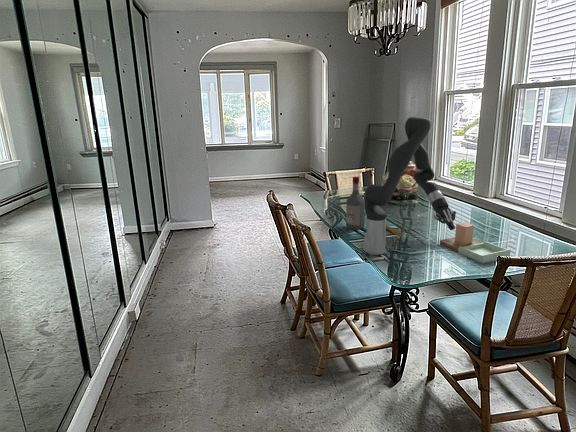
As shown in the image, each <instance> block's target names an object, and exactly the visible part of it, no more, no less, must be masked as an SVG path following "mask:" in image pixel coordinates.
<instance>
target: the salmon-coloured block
mask: <svg viewBox="0 0 576 432" xmlns="http://www.w3.org/2000/svg"><path fill="white" fill-rule="evenodd" d="M474 228H475V225H473V224H471V223H467V222H459V223H456V224H455V233H454V235H455V236H454V237H455V241H456V242H459V243H461V244H463V245H465V244H470V243H472V239H474V238H473V237H474Z"/></svg>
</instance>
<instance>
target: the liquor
mask: <svg viewBox="0 0 576 432" xmlns="http://www.w3.org/2000/svg"><path fill="white" fill-rule="evenodd" d="M345 206H346V207H345V209H346V213H345V214H346V216H345V218H346V220H345V222H346V223H345V224H346V228H347V229H349V230H354V231H359V230H358V229H360V230H362V229H363V228H365V224H366V222H365V220H366V219H365V216H366V215H365V214H366V211H365V197H363V196H362V195H361V194H360V177H359V176H352V192H351V194H350V195H349V196H348V197H347V199H346V205H345ZM361 228H362V229H361Z"/></svg>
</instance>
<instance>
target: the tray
mask: <svg viewBox="0 0 576 432" xmlns="http://www.w3.org/2000/svg"><path fill="white" fill-rule="evenodd" d="M457 254H459V255H462V256H464V257H467V258H469V259H471V260H473V261H476V262H477V263H480V264H482V265H484V264H488V263H493V262H497V261H496V258H497V256H510V257H511V249H507V248H505V247H502V246H499V245H497V244H494V243H491V242H489V241H487V240H486V241H485V240H484V242H483V243H480V244H475V245H470V246H465V247H461V246H459V248H458V253H457Z"/></svg>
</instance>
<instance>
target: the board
mask: <svg viewBox="0 0 576 432" xmlns="http://www.w3.org/2000/svg"><path fill="white" fill-rule="evenodd" d="M480 243H484V242H483V241H481V240H479V239H475V238H473V239H472V243H470V244H465V245H463V244H461V243H459V242H456V241H455V236H454V237H449V238H445V239H440V240H439V246H441V247H443V248H446V249H448V250H450V251H453V252H455V253H457V254H459V253H458V248H459V246H461V247H465V246H470V245H475V244H480Z"/></svg>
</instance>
